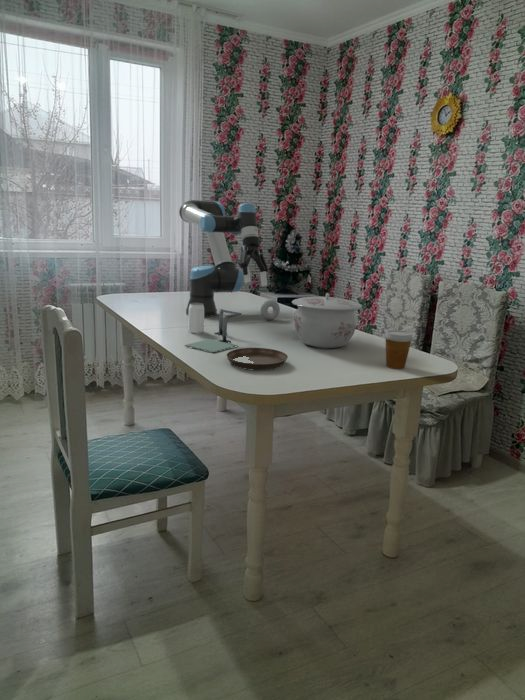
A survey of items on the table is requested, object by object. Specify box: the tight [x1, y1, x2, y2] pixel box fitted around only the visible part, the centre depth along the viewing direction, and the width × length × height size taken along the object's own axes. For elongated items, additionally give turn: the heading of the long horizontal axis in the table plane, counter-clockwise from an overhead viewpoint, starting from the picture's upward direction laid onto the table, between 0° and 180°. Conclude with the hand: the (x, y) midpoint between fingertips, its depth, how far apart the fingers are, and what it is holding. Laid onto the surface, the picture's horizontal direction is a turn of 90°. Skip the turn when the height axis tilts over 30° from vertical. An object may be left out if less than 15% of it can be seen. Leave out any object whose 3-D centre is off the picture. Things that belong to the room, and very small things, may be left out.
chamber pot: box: [291, 292, 363, 350], centre depth 211 cm, size 28×28×21 cm
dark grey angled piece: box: [214, 308, 242, 343], centre depth 215 cm, size 14×14×10 cm
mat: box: [184, 338, 238, 352], centre depth 201 cm, size 14×14×1 cm
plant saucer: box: [225, 347, 288, 371], centre depth 181 cm, size 21×21×3 cm
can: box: [187, 303, 205, 334], centre depth 223 cm, size 6×6×12 cm
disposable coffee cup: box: [384, 329, 414, 370], centre depth 185 cm, size 10×10×12 cm
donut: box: [260, 299, 281, 321], centre depth 257 cm, size 10×4×10 cm, turn 117°
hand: (256, 284), depth 240 cm, fingers open, 13 cm apart
